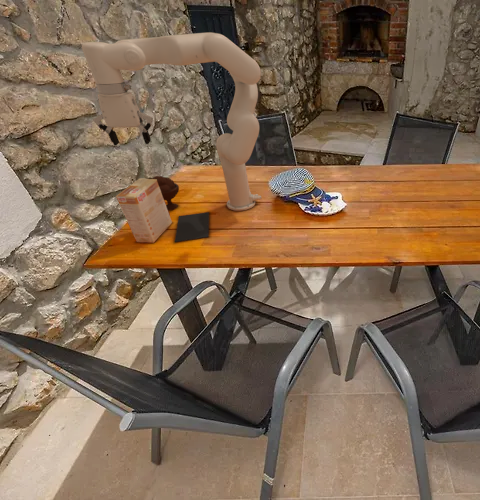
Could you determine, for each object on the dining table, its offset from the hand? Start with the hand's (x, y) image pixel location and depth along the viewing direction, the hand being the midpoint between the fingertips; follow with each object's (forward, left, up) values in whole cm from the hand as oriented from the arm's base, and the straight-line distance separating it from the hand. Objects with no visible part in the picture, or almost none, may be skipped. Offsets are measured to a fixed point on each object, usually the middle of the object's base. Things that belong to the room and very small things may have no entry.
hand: (132, 143), depth 110 cm
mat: (-11, +4, -34) cm, 36 cm away
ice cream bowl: (-1, -16, -34) cm, 38 cm away
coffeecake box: (+3, +4, -34) cm, 34 cm away
